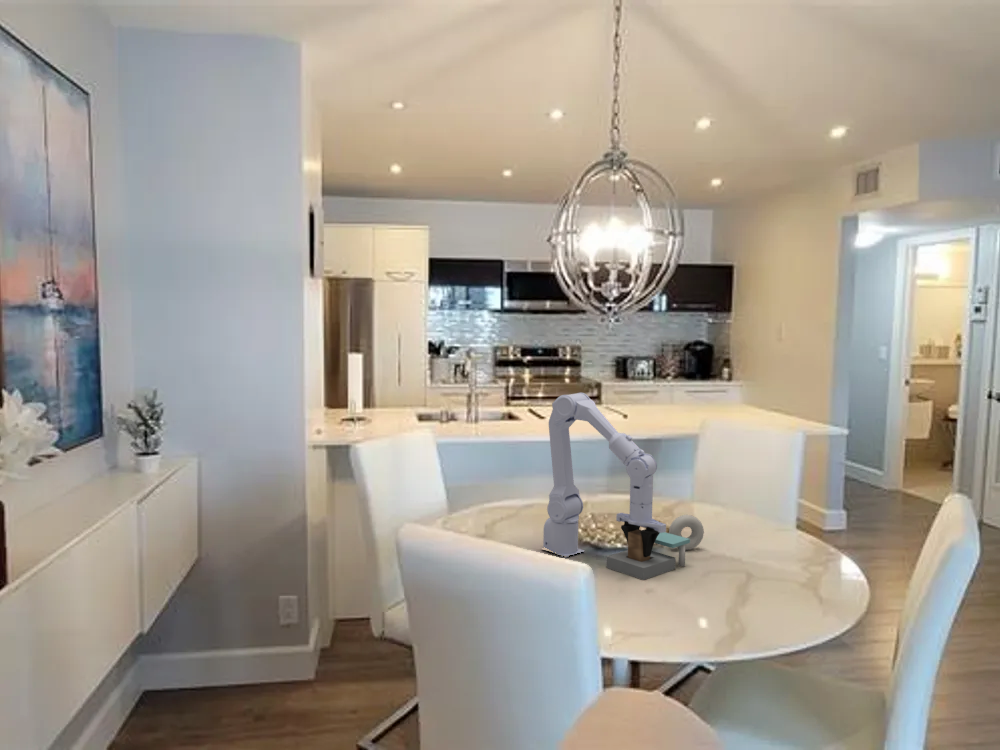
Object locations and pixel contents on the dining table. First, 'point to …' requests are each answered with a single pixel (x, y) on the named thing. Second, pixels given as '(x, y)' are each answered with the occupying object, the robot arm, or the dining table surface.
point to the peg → (636, 546)
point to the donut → (695, 528)
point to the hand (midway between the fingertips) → (639, 553)
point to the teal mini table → (673, 544)
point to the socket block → (641, 564)
